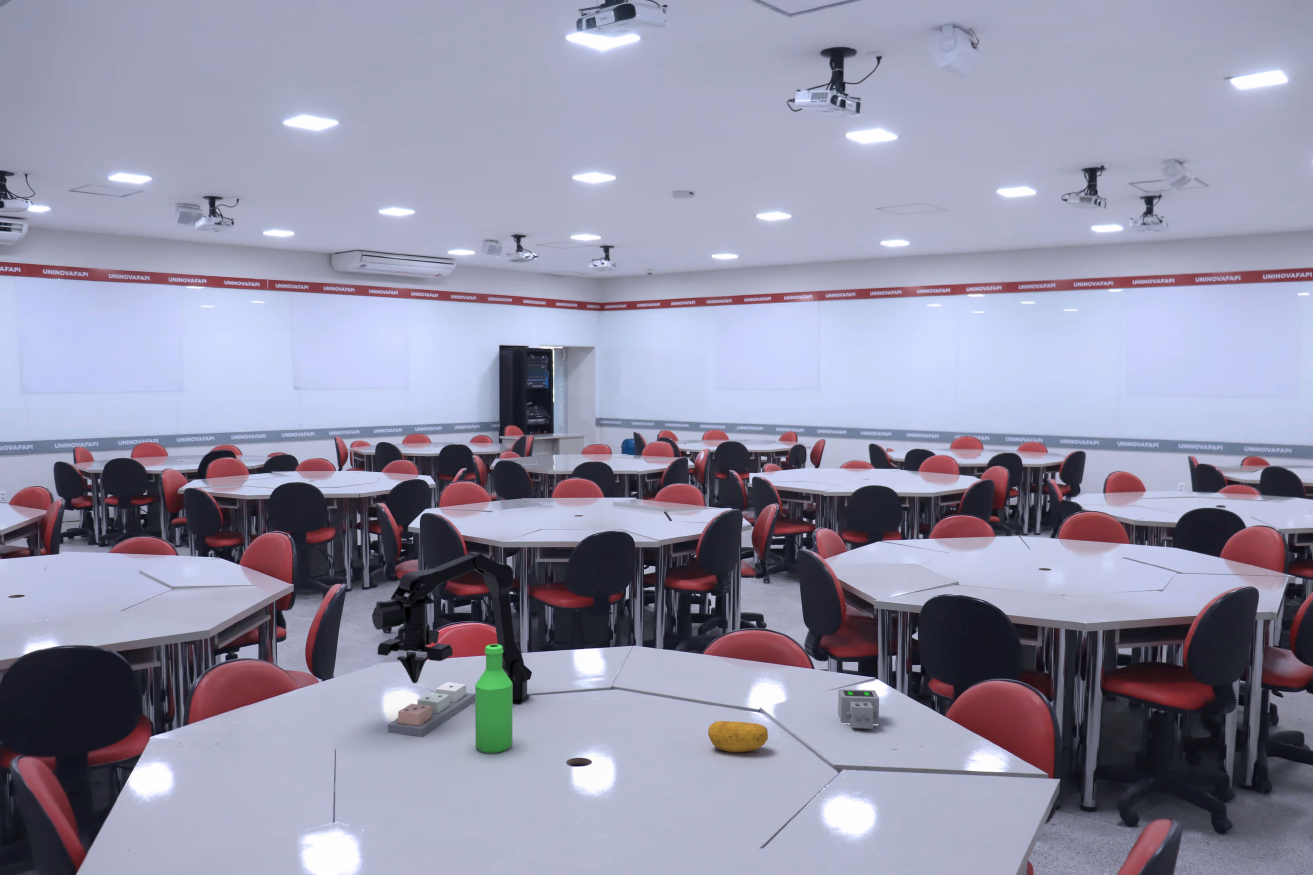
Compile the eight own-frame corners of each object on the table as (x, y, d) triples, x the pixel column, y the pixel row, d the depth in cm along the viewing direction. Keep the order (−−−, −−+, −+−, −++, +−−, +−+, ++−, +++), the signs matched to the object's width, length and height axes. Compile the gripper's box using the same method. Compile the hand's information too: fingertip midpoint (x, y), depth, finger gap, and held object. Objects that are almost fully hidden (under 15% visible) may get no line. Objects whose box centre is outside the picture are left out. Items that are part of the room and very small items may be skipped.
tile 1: (466, 694, 240) (466, 683, 240) (455, 702, 234) (455, 690, 234) (447, 692, 241) (447, 681, 241) (435, 699, 236) (435, 688, 235)
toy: (844, 703, 219) (836, 684, 234) (843, 733, 220) (836, 712, 235) (882, 705, 219) (873, 685, 234) (882, 734, 219) (872, 713, 234)
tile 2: (449, 705, 231) (449, 694, 231) (437, 713, 225) (437, 701, 225) (429, 703, 233) (429, 692, 233) (417, 710, 227) (417, 699, 227)
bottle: (468, 750, 207) (467, 647, 206) (491, 737, 214) (491, 638, 213) (497, 757, 203) (497, 652, 202) (519, 744, 210) (519, 643, 209)
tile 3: (431, 717, 222) (431, 705, 222) (418, 725, 217) (418, 713, 217) (411, 714, 224) (411, 703, 224) (398, 722, 218) (398, 711, 218)
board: (475, 700, 241) (475, 693, 241) (422, 736, 215) (422, 728, 215) (443, 697, 243) (443, 690, 243) (387, 731, 218) (387, 724, 218)
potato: (767, 759, 203) (767, 729, 203) (706, 754, 205) (706, 725, 205) (768, 747, 210) (768, 718, 210) (709, 742, 212) (709, 714, 212)
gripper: (463, 617, 224) (463, 676, 225) (400, 612, 230) (401, 669, 230) (440, 628, 214) (441, 690, 214) (376, 622, 219) (376, 682, 220)
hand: (415, 682), depth 220 cm, fingers closed
